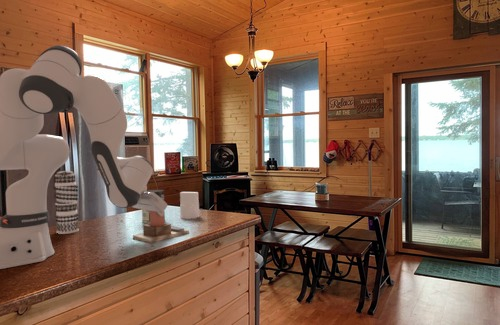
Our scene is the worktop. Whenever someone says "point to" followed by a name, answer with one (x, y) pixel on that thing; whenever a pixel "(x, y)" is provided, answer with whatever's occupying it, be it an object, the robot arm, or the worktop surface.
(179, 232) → the jig
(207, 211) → the worktop surface
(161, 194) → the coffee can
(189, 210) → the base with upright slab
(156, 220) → the red rectangular block
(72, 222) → the decorative candle
